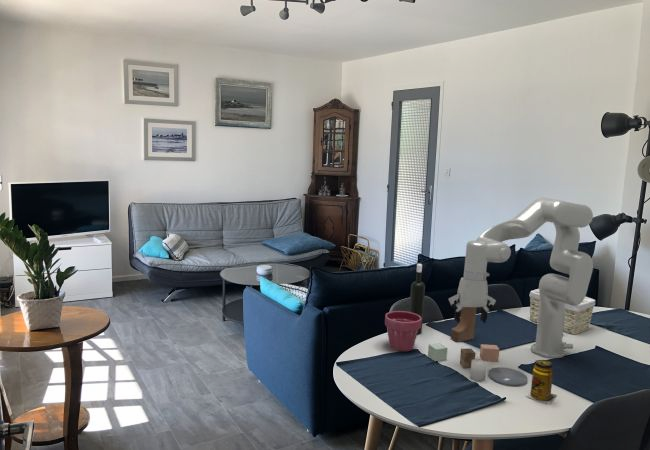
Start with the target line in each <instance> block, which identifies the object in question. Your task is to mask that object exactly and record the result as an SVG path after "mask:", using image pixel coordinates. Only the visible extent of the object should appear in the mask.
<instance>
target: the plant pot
mask: <svg viewBox="0 0 650 450" xmlns="http://www.w3.org/2000/svg"><path fill="white" fill-rule="evenodd" d="M421 319H422V318H421V316H419V315H417V314H415V313H411V312H409V311H403V310H394V311H390V312H387V313H385V316H384V325H385V327H386V330H387V337H388V341H389V347H390V348H391V349H392V350H394V351H398V352H411V351H413V350H414V349H413V348H414V346H415V343H416V339H417V333H418V329H420V328H421Z"/></svg>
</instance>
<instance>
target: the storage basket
mask: <svg viewBox="0 0 650 450" xmlns="http://www.w3.org/2000/svg"><path fill="white" fill-rule="evenodd" d="M529 303H530V304H529V305H530V306H529V320H530V321H531V322H534V323H537V324H538V316H539V307H540V293H539V288H537V289H534V290H530V292H529ZM564 305H565V310H566V313H565V321H564V329H563V333H568V334H570V335H574V336H575V335H577V334H580V333H582V332H585V331H588V330H589V329H590V325H591V321H592V317H593V313H594V312H593V311H594V307H595V306H596V299H593V298H591V297H588V296H585V298H584V300H583V301H582V303H581V304H579V305H577V306H572V305H568V304H565V303H564Z"/></svg>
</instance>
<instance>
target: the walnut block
mask: <svg viewBox="0 0 650 450" xmlns="http://www.w3.org/2000/svg"><path fill="white" fill-rule="evenodd" d="M476 354H477V353H476V351H475V350H473V348H460V355H459V357H460V358H459V365H460V366H461V368H463V369H465V370H466V369H471V362H472V360H474V359H476Z"/></svg>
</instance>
